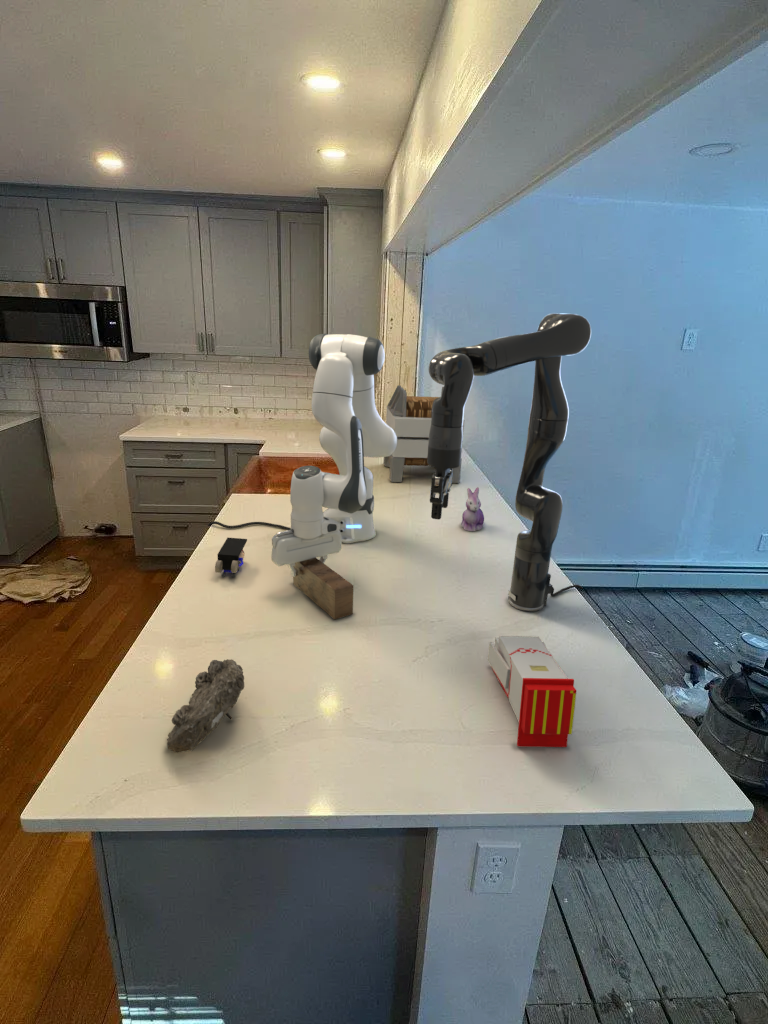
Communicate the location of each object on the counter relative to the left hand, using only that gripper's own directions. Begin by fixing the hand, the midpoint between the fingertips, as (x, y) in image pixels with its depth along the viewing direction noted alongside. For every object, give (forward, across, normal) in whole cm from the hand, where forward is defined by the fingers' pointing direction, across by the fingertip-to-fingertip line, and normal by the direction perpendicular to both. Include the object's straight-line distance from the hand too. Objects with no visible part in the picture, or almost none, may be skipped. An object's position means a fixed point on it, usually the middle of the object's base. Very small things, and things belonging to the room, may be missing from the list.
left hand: (307, 572), depth 158 cm
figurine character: (+4, -14, +21) cm, 25 cm away
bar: (+4, 0, -8) cm, 9 cm away
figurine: (+4, +74, +10) cm, 75 cm away
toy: (+4, +14, -67) cm, 68 cm away
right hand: (-26, +16, -35) cm, 46 cm away
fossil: (+4, -41, -38) cm, 56 cm away
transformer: (+5, +103, +76) cm, 128 cm away
